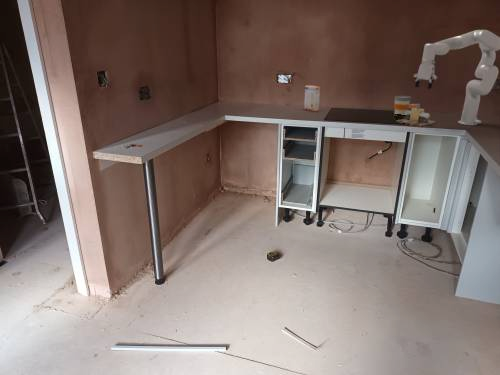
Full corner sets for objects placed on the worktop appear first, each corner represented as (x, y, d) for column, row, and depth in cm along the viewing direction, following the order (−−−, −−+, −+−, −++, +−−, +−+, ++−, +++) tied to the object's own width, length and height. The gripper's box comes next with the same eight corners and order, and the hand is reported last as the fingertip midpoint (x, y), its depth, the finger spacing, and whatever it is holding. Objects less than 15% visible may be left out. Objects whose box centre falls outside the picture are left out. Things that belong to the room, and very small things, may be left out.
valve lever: (416, 108, 283) (417, 102, 282) (420, 108, 281) (421, 103, 280) (408, 109, 278) (409, 104, 276) (411, 110, 275) (412, 105, 274)
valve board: (435, 123, 284) (436, 117, 282) (420, 127, 273) (421, 120, 271) (411, 119, 299) (412, 113, 297) (396, 122, 288) (397, 116, 286)
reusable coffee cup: (401, 116, 307) (404, 98, 301) (389, 114, 317) (391, 96, 311) (411, 115, 312) (414, 96, 307) (399, 112, 322) (401, 95, 317)
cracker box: (319, 111, 333) (320, 86, 325) (313, 111, 330) (315, 87, 322) (309, 108, 344) (310, 85, 336) (303, 109, 341) (304, 85, 333)
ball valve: (429, 122, 280) (431, 110, 277) (424, 123, 277) (426, 111, 274) (407, 118, 294) (409, 106, 290) (403, 119, 291) (404, 107, 287)
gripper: (442, 63, 256) (437, 88, 263) (419, 61, 270) (415, 86, 276) (436, 63, 252) (431, 89, 259) (413, 61, 266) (409, 86, 272)
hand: (423, 87), depth 267 cm, fingers open, 9 cm apart
